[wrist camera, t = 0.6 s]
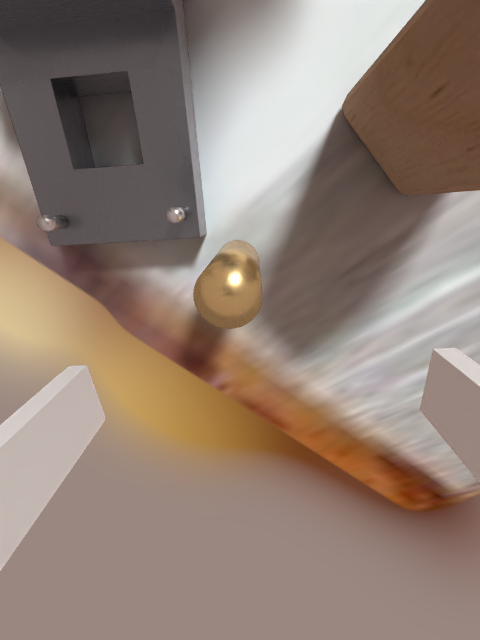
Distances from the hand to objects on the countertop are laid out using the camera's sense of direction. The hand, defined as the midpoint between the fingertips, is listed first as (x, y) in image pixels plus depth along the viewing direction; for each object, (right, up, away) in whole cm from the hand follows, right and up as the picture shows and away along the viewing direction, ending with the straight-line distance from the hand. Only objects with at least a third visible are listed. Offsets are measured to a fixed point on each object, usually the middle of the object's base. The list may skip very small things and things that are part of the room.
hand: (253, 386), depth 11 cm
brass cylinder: (-1, +9, +18) cm, 20 cm away
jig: (-11, +19, +14) cm, 26 cm away
